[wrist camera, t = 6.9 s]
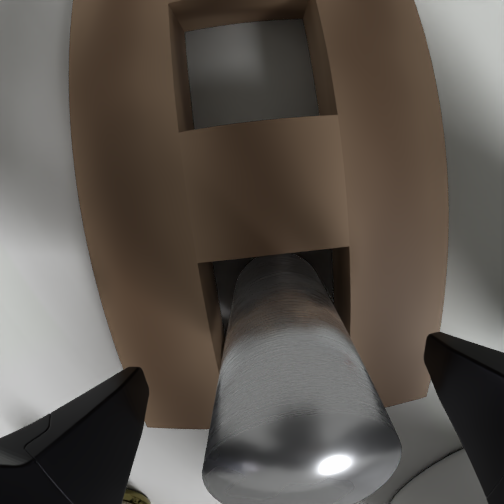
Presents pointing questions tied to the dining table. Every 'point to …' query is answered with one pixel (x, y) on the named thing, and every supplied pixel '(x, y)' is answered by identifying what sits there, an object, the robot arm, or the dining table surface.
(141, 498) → the cup
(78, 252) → the dining table surface
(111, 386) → the robot arm
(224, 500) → the lock pin
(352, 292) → the mount block
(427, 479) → the cylinder vase
